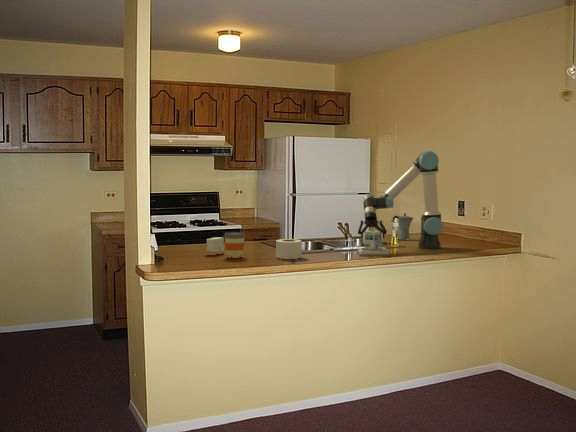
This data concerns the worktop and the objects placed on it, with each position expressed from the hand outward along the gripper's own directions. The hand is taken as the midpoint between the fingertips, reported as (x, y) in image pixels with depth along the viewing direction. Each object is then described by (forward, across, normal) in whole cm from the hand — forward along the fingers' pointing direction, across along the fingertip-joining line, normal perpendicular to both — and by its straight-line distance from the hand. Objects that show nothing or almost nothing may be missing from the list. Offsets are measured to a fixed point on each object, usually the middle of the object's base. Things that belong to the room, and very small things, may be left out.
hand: (373, 242), depth 392 cm
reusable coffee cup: (+14, +86, +2) cm, 87 cm away
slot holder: (+4, 0, -8) cm, 8 cm away
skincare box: (+4, +99, -8) cm, 100 cm away
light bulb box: (+1, 0, -5) cm, 5 cm away
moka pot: (-49, -32, -60) cm, 84 cm away
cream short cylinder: (+15, +53, +3) cm, 55 cm away
